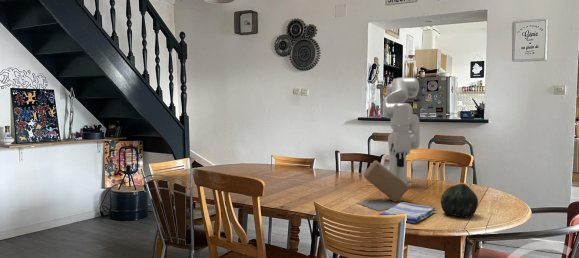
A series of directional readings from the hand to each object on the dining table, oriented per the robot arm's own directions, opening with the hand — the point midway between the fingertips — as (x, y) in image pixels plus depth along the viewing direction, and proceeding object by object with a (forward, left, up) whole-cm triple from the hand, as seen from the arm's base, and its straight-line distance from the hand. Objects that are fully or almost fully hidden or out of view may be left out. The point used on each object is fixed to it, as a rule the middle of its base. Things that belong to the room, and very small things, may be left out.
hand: (400, 166), depth 209 cm
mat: (+11, 0, -18) cm, 21 cm away
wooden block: (-2, -2, -14) cm, 14 cm away
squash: (-7, +30, -18) cm, 36 cm away
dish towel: (+13, +20, -18) cm, 30 cm away
